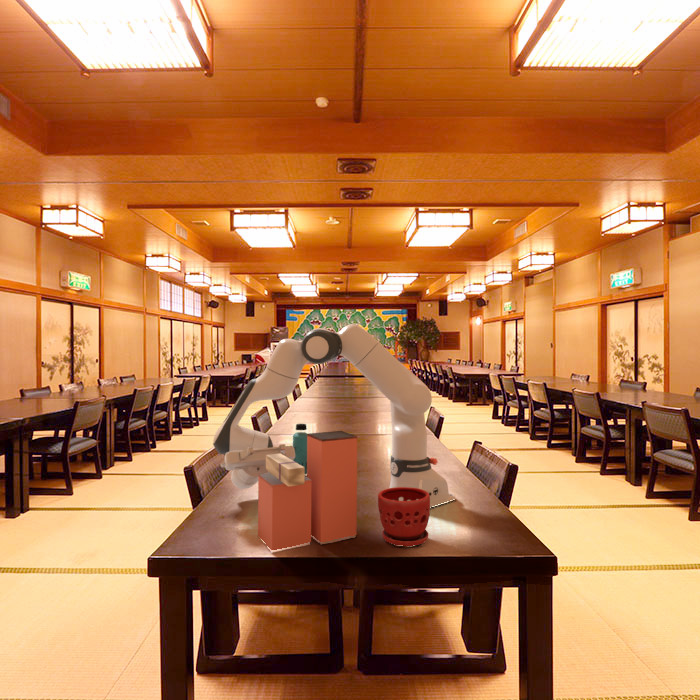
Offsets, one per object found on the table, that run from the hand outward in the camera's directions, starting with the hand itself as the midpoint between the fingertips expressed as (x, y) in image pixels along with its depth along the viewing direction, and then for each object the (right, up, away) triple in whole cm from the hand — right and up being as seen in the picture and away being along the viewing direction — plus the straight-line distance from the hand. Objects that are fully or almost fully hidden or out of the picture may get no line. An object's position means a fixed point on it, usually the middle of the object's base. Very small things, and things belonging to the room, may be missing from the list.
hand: (267, 448), depth 127 cm
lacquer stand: (+12, -21, -10) cm, 26 cm away
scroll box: (+6, -5, -12) cm, 14 cm away
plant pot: (+37, -21, -11) cm, 44 cm away
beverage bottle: (+4, -21, +47) cm, 51 cm away
